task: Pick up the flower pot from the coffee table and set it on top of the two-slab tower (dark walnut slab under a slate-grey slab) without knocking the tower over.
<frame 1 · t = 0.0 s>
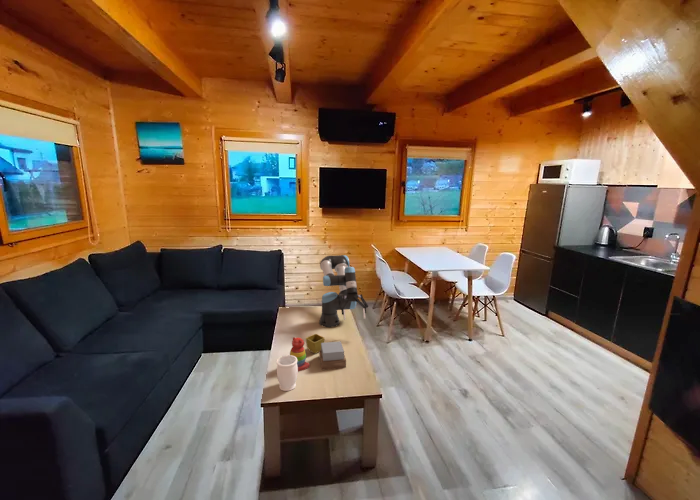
hand: (354, 318, 209), 15 cm above the table, tool tilted 35°, fingers open, 13 cm apart
walnut base slab: (332, 362, 186), on the table, touching grey top slab
flower pot: (315, 351, 197), on the table
jar: (287, 386, 163), on the table
stacking bear: (298, 366, 180), on the table
grey top slab: (332, 354, 185), point 4 cm above the table, touching walnut base slab
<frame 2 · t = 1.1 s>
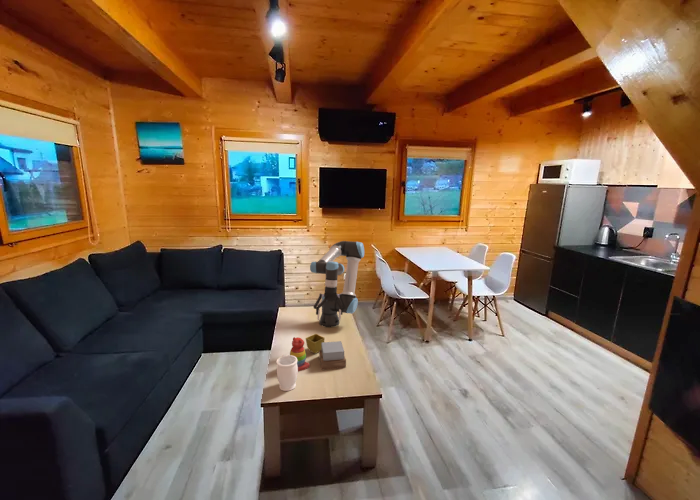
hand: (328, 319, 196), 20 cm above the table, tool pointing down, fingers open, 13 cm apart
nothing on the table moved.
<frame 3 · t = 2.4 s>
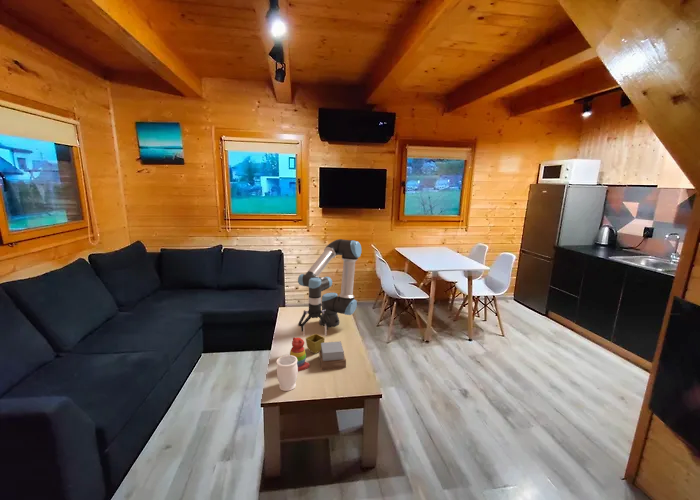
hand: (314, 335, 195), 11 cm above the table, tool pointing down, fingers open, 13 cm apart
nothing on the table moved.
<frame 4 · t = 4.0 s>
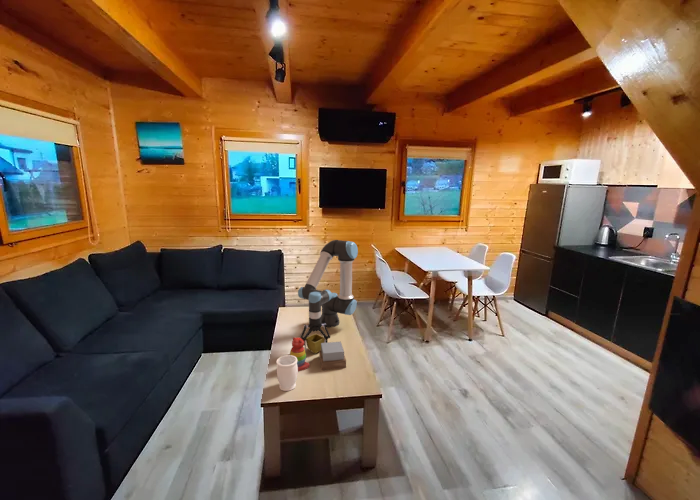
hand: (315, 349, 197), 1 cm above the table, tool pointing down, fingers closed on flower pot, 12 cm apart
flower pot: (315, 351, 197), on the table, touching gripper
everything else where it was.
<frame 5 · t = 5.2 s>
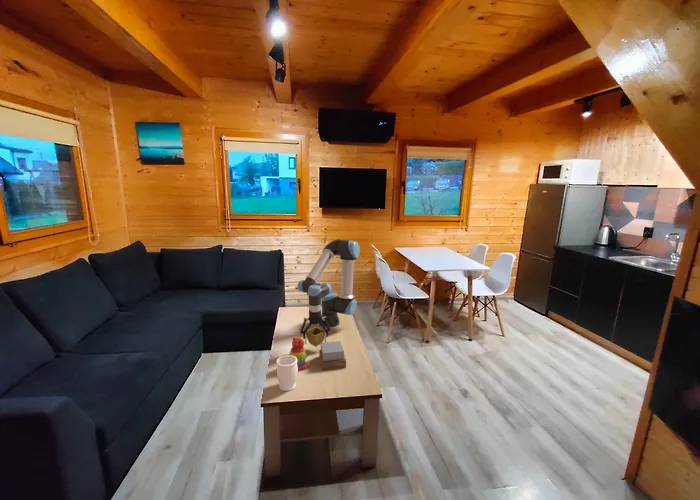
hand: (315, 342, 197), 6 cm above the table, tool pointing down, fingers closed on flower pot, 12 cm apart
walnut base slab: (332, 362, 186), on the table
flower pot: (315, 344, 197), point 4 cm above the table, touching gripper
grey top slab: (331, 354, 185), point 5 cm above the table
everything else where it was.
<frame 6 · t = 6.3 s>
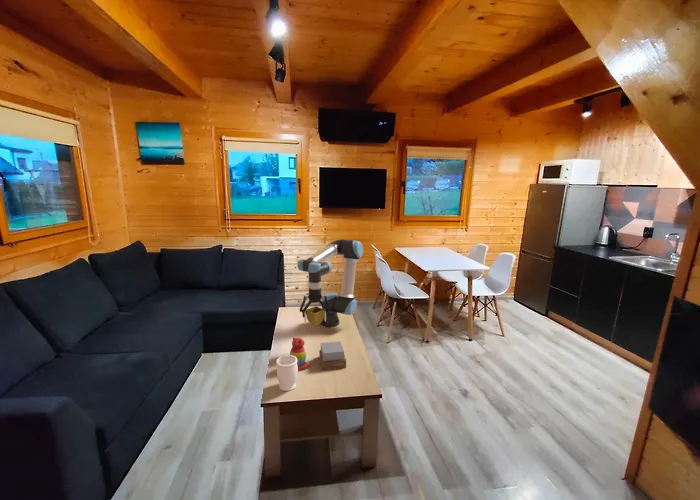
hand: (315, 321, 193), 20 cm above the table, tool pointing down, fingers closed on flower pot, 12 cm apart
walnut base slab: (332, 362, 185), on the table, touching grey top slab
flower pot: (315, 323, 194), point 19 cm above the table, touching gripper
grey top slab: (332, 354, 185), point 4 cm above the table, touching walnut base slab
everything else where it was.
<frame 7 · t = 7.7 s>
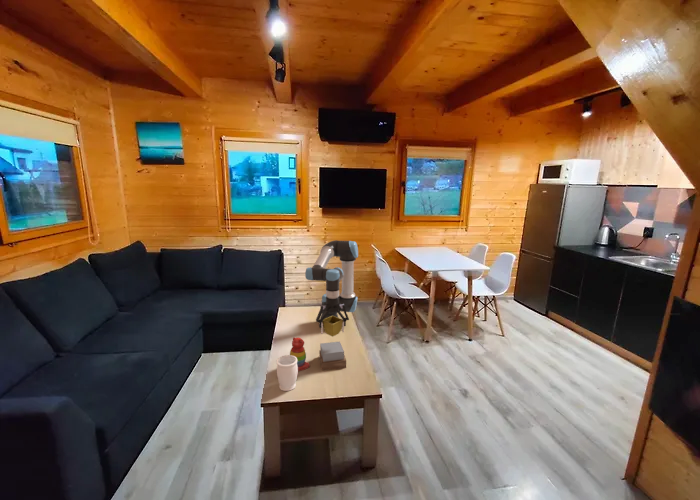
hand: (332, 332, 182), 19 cm above the table, tool pointing down, fingers closed on flower pot, 12 cm apart
flower pot: (332, 334, 182), point 18 cm above the table, touching gripper
everything else where it was.
when the fingers open (13 cm above the table, at t = 9.8 s): flower pot drops 2 cm, resting on grey top slab.
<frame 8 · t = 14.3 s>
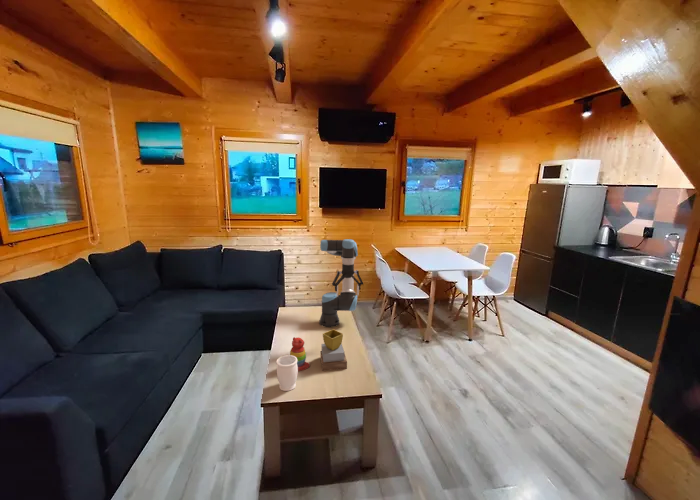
hand: (347, 295, 204), 33 cm above the table, tool pointing down, fingers open, 13 cm apart
flower pot: (332, 348, 183), point 9 cm above the table, touching grey top slab
grey top slab: (332, 355, 184), point 4 cm above the table, touching flower pot, walnut base slab
at the end: flower pot inside the target area on the grey top slab (0.3 cm from its centre), point 4.8 cm above the grey top slab's base; grey top slab 0.5 cm off-centre on the walnut base slab, point 5.0 cm above the walnut base slab's base; flower pot tilted 0° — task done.
